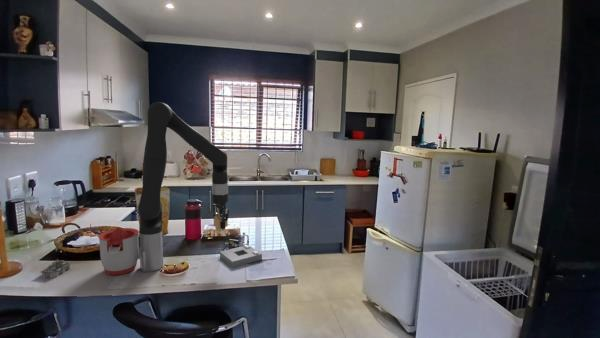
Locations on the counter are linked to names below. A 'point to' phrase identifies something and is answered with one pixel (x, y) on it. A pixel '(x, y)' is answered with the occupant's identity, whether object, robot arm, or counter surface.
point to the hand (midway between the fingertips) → (220, 227)
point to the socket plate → (240, 256)
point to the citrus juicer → (119, 250)
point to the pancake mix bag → (164, 201)
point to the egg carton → (52, 270)
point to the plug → (218, 224)
